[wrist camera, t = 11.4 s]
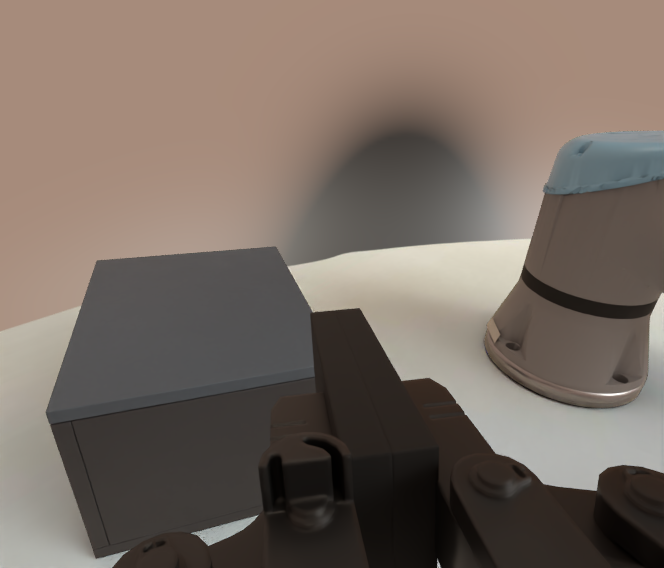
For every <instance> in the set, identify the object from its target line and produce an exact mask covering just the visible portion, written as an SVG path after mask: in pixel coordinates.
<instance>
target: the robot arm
mask: <svg viewBox="0 0 664 568" xmlns="http://www.w3.org/2000/svg"><path fill="white" fill-rule="evenodd" d="M543 192H545V195H544V198H543V202H542V205H541V209H540V212H539V216H538V219H537V222H536V226H535V229H534V232H533V236H532V239H531V242H530V246H529V249H528V252H527V256H526V259H525V263H524V266H523V270H522V273H521V276H520V279H519V281H518V282H517V284H516V285H515V287H514V288H513V289H512V291H511V292H510V293H509V295H508V296H507V297H506V299H505V300H504V302H503V303H502V304H501V306H500V307H499V308H498V310H497V311H496V312H495V314H494V315H493V317H492V318H491V319H490V321H489V322H488V324H487V331H486V335H485V341H484V343H485V348H486V351H487V353H488V355H489V356H490V358H491V359H492V361H493V362H494V363H495V364H496V365H497V366H498V367H499V368H500V369H501V370H502V371H503V372H504V373H505V374H507V375H508V376H509V377H511V378H512V379H513V380H515V381H516V382H518V383H520V384H521V385H523V386H525V387H527V388H529V389H530V390H532V391H535V392H537V393H539V394H541V395H544V396H546V397H549V398H552V399H554V400H557V401H561V402H564V403H568V404H572V405H577V406H583V407H591V408H611V407H618V406H622V405H625V404H627V403H630V402H631V401H633V400H634V399H635V398H636V397H637V396H638V395H639V393H640V391H641V389H642V387H643V385H644V383H645V381H646V379H647V376H648V361H649V321H650V316H651V313H652V311H653V309H654V307H655V305H656V303H657V300H658V298H659V297H660V295H661V293H664V131H623V132H606V133H596V134H588V135H583V136H579V137H576V138H574V139H572V140H570V141H569V142H567V143H566V144H565V145H564V146H563V147H562V148H561V149H560V151H559V152H558V154H557V157H556V159H555V162H554V165H553V168H552V171H551V174H550V177H549V180H548V182H547V183H546V184H545V185H544V188H543ZM310 320H311V333H312V347H313V360H314V374H315V387H316V393H308V394H299V395H290V396H282V397H280V398H279V399H278V401H277V402H276V404H275V405H274V406H273V408H272V409H271V428H270V447H269V448H268V449H267V450H266V451H265V452H264V453H263V454H262V456H261V459H260V462H259V465H258V471H259V479H260V487H261V495H262V503H263V511H262V512H261V513H260V515H259V516H258V517H257V518H256V519H255V521H254V522H252V523H251V524H250V525H249V526H247V527H246V528H245V529H244V530H242V531H240V532H238V533H236V534H235V535H233V536H231V537H229V538H226V539H224V540H222V541H219V542H217V543H215V544H212V545H210V546H208V545H207V544H206V543H205V542H203V541H202V540H201V539H200V538H199V537H198V536H197V535H193V534H189V533H185V532H181V531H180V532H171V533H162V534H160V535H157V536H155V537H152V538H150V539H147V540H145V541H142V542H141V543H140V544H138V545H137V546H135V547H134V548H132V549H131V550H130V551H128V552H127V553H125V554H124V555H123V556H122V557H121V558H120V560H119V561H118V562H117V563H116V564H115V565H114V566H113V568H437V558H438V561H439V563H440V566H441V568H664V474H663V473H660V472H657V471H654V470H650V469H647V468H644V467H637V466H627V465H621V466H615V467H610V468H607V469H606V470H605V471H603V472H602V473H601V474H600V475H599V480H598V487H597V491H591V490H582V489H573V488H563V487H556V486H550V485H545V484H543V483H542V482H541V481H540V480H539V479H538V477H537V476H536V475H535V474H534V473H533V472H531V471H530V470H529V469H528V468H527V467H526V466H525V465H523V464H521V463H519V462H517V461H515V460H513V459H511V458H509V457H506V456H502V455H498V454H495V452H494V451H493V450H492V448H491V447H490V446H489V444H488V443H487V442H486V440H485V439H484V438H483V436H482V435H481V434H480V432H479V431H478V430H477V428H476V427H475V426H474V424H473V423H472V422H471V420H470V419H469V418H468V416H467V415H465V414H464V411H463V410H462V409H461V407H460V406H459V405H458V404H456V401H455V399H454V398H453V397H452V395H451V394H450V393H449V391H448V390H447V389H446V388H445V387H443V386H442V385H440V384H438V383H437V382H435V381H433V380H432V379H430V378H425V379H417V380H408V381H401V379H400V378H399V376H398V374H397V372H396V371H395V369H394V367H393V365H392V364H391V362H390V360H389V358H388V357H387V355H386V353H385V351H384V350H383V348H382V346H381V345H380V343H379V341H378V339H377V338H376V336H375V334H374V332H373V331H372V329H371V327H370V325H369V324H368V322H367V320H366V318H365V317H364V315H363V313H362V311H361V310H360V308H356V309H345V310H335V311H324V312H314V313H310Z"/></svg>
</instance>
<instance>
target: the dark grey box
mask: <svg viewBox="0 0 664 568" xmlns="http://www.w3.org/2000/svg"><path fill="white" fill-rule="evenodd" d="M308 393H316V387H315V377H311V378H305V379H300V380H294V381H288V382H283V383H277V384H272V385H266V386H261V387H255V388H249V389H244V390H238V391H233V392H227V393H221V394H216V395H210V396H205V397H199V398H194V399H188V400H182V401H177V402H171V403H166V404H160V405H155V406H149V407H143V408H138V409H132V410H127V411H121V412H116V413H110V414H104V415H99V416H93V417H88V418H82V419H76V420H71V421H65V422H60V423H54V424H51V425H50V426H51V429H52V432H53V435H54V438H55V441H56V444H57V447H58V450H59V452H60V455H61V458H62V461H63V464H64V467H65V470H66V473H67V476H68V478H69V481H70V484H71V487H72V490H73V493H74V496H75V499H76V502H77V504H78V507H79V510H80V513H81V516H82V519H83V522H84V525H85V528H86V530H87V533H88V536H89V539H90V542H91V545H92V548H93V551H94V554H95V557H96V558H100V557H104V556H107V555H111V554H115V553H118V552H122V551H126V550H129V549H132V548H134V547H135V546H137V545H138V544H140V543H141V542H142V541H145V540H147V539H150V538H152V537H155V536H157V535H160V534H162V533H171V532H180V531H181V532H185V533H192V532H196V531H199V530H203V529H207V528H210V527H214V526H218V525H221V524H225V523H229V522H233V521H236V520H240V519H244V518H247V517H251V516H255V515H258V514H260V513H261V512H262V511H263V503H262V495H261V487H260V479H259V471H258V465H259V462H260V459H261V456H262V454H263V453H264V452H265V451H266V450H267V449H268V448H269V447H270V428H271V409H272V408H273V406H274V405H275V404H276V402H277V401H278V399H279V398H280V397H282V396H290V395H299V394H308Z"/></svg>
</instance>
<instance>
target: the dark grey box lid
mask: <svg viewBox="0 0 664 568" xmlns="http://www.w3.org/2000/svg"><path fill="white" fill-rule="evenodd" d="M310 313H313V312H312V310H311V309H310V307H309V305H308V303H307V301H306V300H305V298H304V296H303V294H302V292H301V291H300V289H299V287H298V285H297V283H296V282H295V280H294V278H293V276H292V275H291V273H290V271H289V269H288V267H287V266H286V264H285V262H284V260H283V258H282V257H281V255H280V253H279V251H278V249H277V248H276V247H264V248H251V249H239V250H226V251H213V252H201V253H188V254H175V255H162V256H150V257H137V258H125V259H112V260H99V261H97V262H96V265H95V268H94V271H93V273H92V277H91V279H90V283H89V286H88V289H87V292H86V294H85V298H84V300H83V303H82V306H81V309H80V312H79V315H78V318H77V321H76V324H75V327H74V330H73V333H72V336H71V339H70V342H69V345H68V348H67V351H66V354H65V357H64V360H63V363H62V365H61V368H60V371H59V374H58V377H57V380H56V383H55V386H54V389H53V392H52V395H51V398H50V401H49V404H48V407H47V410H46V415H47V418H48V421H49V424H54V423H60V422H65V421H71V420H76V419H82V418H88V417H93V416H99V415H104V414H110V413H116V412H121V411H127V410H132V409H138V408H143V407H149V406H155V405H160V404H166V403H171V402H177V401H182V400H188V399H194V398H199V397H205V396H210V395H216V394H221V393H227V392H233V391H238V390H244V389H249V388H255V387H261V386H266V385H272V384H277V383H283V382H288V381H294V380H300V379H305V378H311V377H315V374H314V360H313V347H312V333H311V320H310Z"/></svg>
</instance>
